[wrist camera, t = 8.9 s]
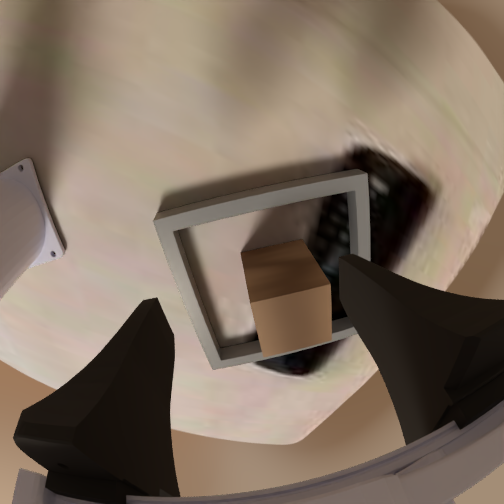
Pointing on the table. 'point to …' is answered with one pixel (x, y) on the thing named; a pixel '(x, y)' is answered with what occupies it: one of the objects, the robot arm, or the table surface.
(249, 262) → the walnut block
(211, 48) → the table surface
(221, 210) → the tray frame
